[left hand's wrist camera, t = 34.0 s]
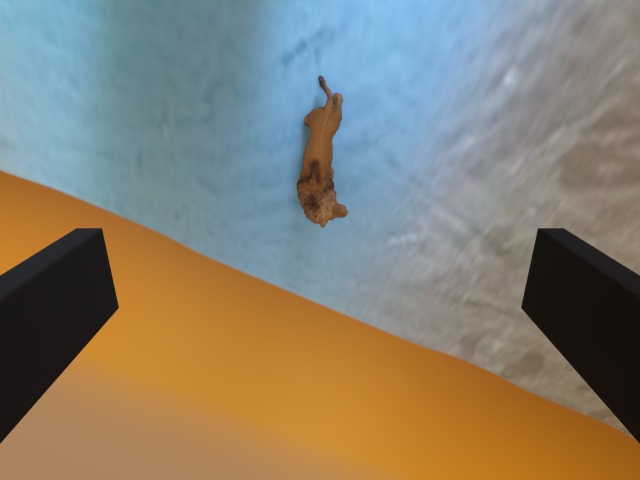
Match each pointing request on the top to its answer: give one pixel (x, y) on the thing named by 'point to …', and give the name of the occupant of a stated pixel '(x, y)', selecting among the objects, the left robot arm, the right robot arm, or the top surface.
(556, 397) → the top surface
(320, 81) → the lion figurine
